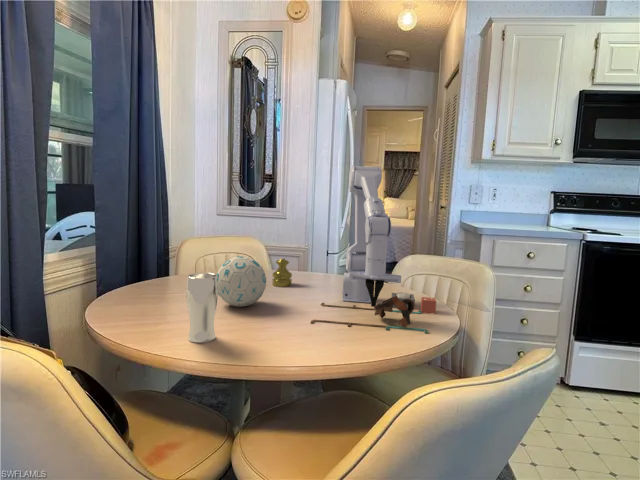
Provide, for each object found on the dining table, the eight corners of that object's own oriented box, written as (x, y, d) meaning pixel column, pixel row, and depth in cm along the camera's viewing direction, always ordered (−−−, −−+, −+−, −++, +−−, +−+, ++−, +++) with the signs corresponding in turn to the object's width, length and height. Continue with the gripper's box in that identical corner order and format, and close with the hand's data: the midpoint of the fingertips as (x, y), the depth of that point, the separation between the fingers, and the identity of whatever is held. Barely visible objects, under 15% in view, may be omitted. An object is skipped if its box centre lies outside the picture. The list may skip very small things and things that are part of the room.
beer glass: (190, 333, 98) (190, 272, 97) (219, 333, 99) (220, 272, 97) (183, 343, 92) (183, 278, 90) (214, 344, 92) (215, 279, 91)
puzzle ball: (227, 297, 133) (228, 251, 131) (272, 301, 130) (273, 254, 128) (206, 310, 118) (206, 258, 116) (256, 314, 115) (257, 262, 114)
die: (421, 313, 124) (422, 299, 123) (420, 309, 128) (421, 296, 127) (435, 314, 123) (436, 300, 123) (433, 310, 127) (434, 297, 127)
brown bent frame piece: (397, 332, 106) (383, 303, 107) (377, 337, 114) (364, 310, 115) (427, 314, 112) (414, 287, 114) (406, 320, 120) (394, 294, 121)
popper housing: (391, 307, 128) (392, 297, 128) (391, 301, 135) (391, 292, 135) (414, 309, 127) (414, 299, 127) (412, 303, 134) (413, 294, 134)
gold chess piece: (280, 281, 159) (281, 256, 158) (295, 284, 154) (296, 258, 153) (267, 284, 153) (268, 258, 152) (282, 288, 149) (283, 261, 147)
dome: (395, 304, 129) (396, 294, 129) (395, 300, 134) (396, 290, 133) (409, 305, 129) (410, 295, 128) (409, 301, 133) (409, 291, 133)
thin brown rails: (310, 323, 109) (310, 322, 109) (321, 303, 130) (322, 302, 130) (428, 333, 105) (428, 332, 105) (421, 311, 125) (421, 310, 125)
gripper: (349, 259, 112) (346, 307, 114) (402, 262, 110) (399, 311, 112) (351, 255, 119) (349, 301, 121) (401, 258, 117) (398, 304, 119)
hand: (373, 305), depth 117 cm, fingers closed
